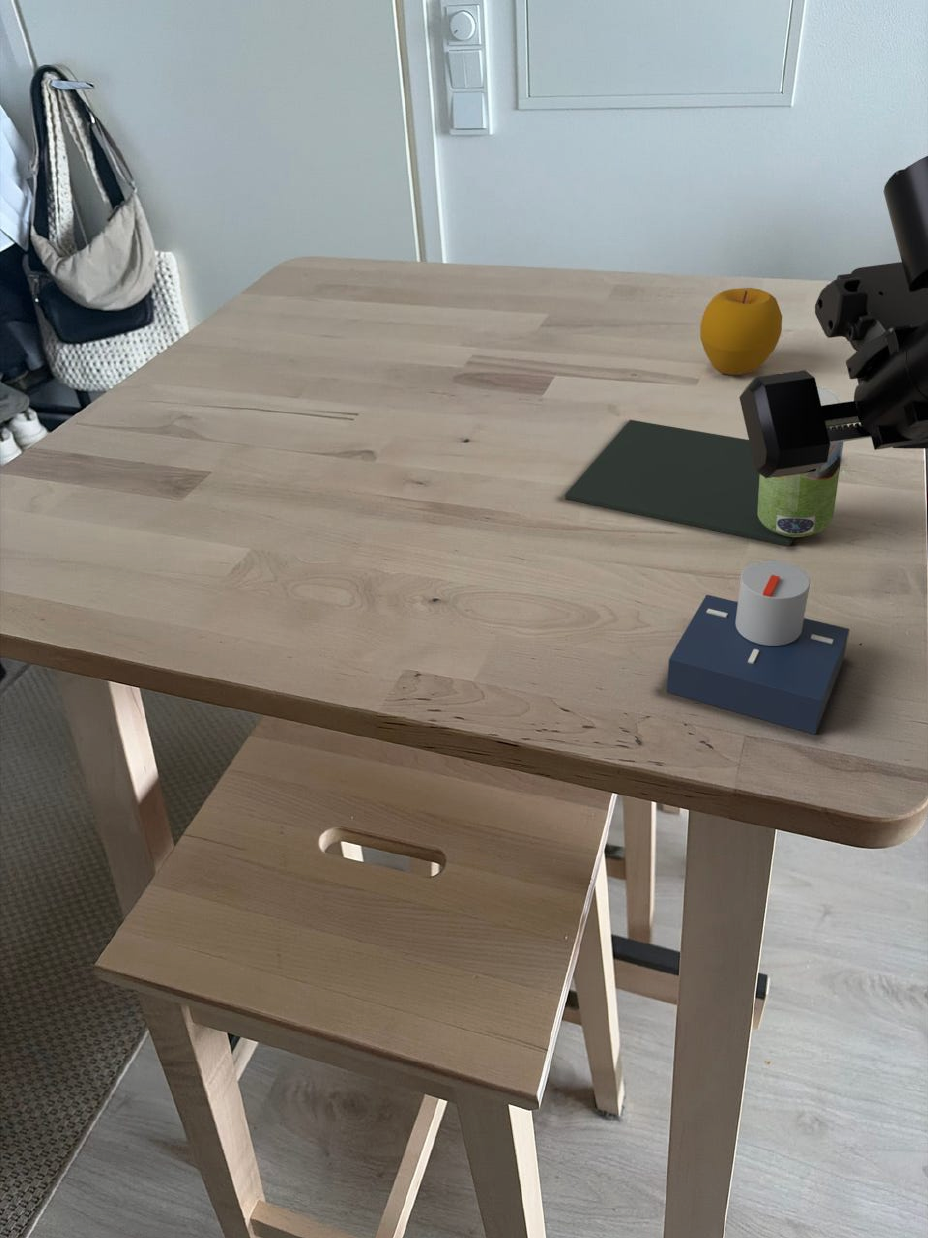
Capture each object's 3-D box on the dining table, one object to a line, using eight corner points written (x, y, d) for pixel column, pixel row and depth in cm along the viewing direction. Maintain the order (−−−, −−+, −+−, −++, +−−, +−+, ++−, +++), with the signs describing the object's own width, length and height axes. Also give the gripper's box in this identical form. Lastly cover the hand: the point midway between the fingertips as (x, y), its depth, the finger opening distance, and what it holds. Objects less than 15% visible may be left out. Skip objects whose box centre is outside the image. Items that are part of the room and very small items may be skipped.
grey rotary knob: (745, 601, 71) (752, 550, 68) (808, 616, 69) (817, 564, 66) (727, 636, 68) (733, 585, 65) (792, 653, 66) (801, 600, 63)
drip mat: (833, 459, 92) (834, 454, 92) (789, 546, 81) (790, 541, 81) (630, 423, 100) (630, 419, 100) (565, 499, 90) (564, 494, 89)
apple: (736, 394, 104) (744, 311, 99) (679, 370, 110) (684, 290, 105) (792, 371, 108) (804, 290, 102) (734, 349, 113) (742, 271, 108)
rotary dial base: (849, 643, 71) (857, 608, 69) (815, 735, 64) (822, 698, 62) (712, 609, 75) (716, 575, 73) (666, 692, 68) (668, 656, 66)
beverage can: (836, 512, 84) (862, 378, 77) (821, 558, 79) (847, 419, 72) (761, 499, 86) (778, 369, 79) (741, 543, 81) (758, 408, 74)
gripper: (1066, 214, 59) (926, 330, 75) (769, 253, 57) (687, 363, 73) (1116, 390, 58) (962, 471, 73) (812, 436, 56) (719, 509, 71)
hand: (833, 449), depth 73 cm, fingers open, 9 cm apart
